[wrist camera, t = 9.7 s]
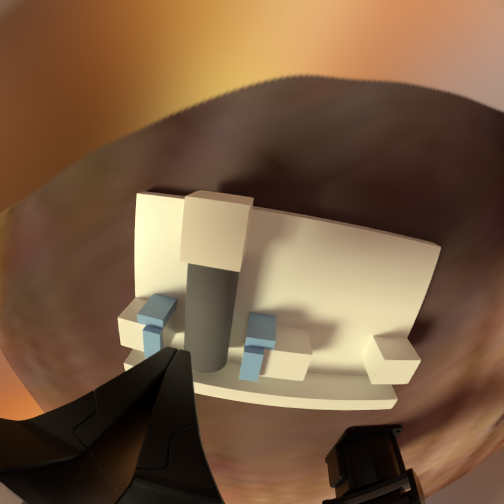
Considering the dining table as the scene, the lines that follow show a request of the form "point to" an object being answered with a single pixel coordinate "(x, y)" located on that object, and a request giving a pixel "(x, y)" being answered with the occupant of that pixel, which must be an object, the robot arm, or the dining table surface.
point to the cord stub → (212, 272)
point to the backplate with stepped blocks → (289, 308)
